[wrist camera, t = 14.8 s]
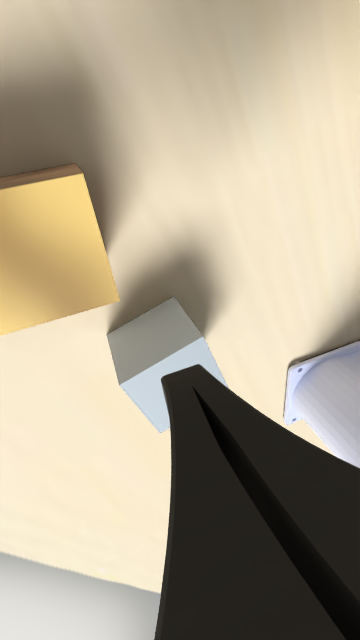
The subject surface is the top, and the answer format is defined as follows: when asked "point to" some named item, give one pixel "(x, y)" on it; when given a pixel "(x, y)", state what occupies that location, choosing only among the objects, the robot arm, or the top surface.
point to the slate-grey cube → (157, 356)
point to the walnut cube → (50, 249)
